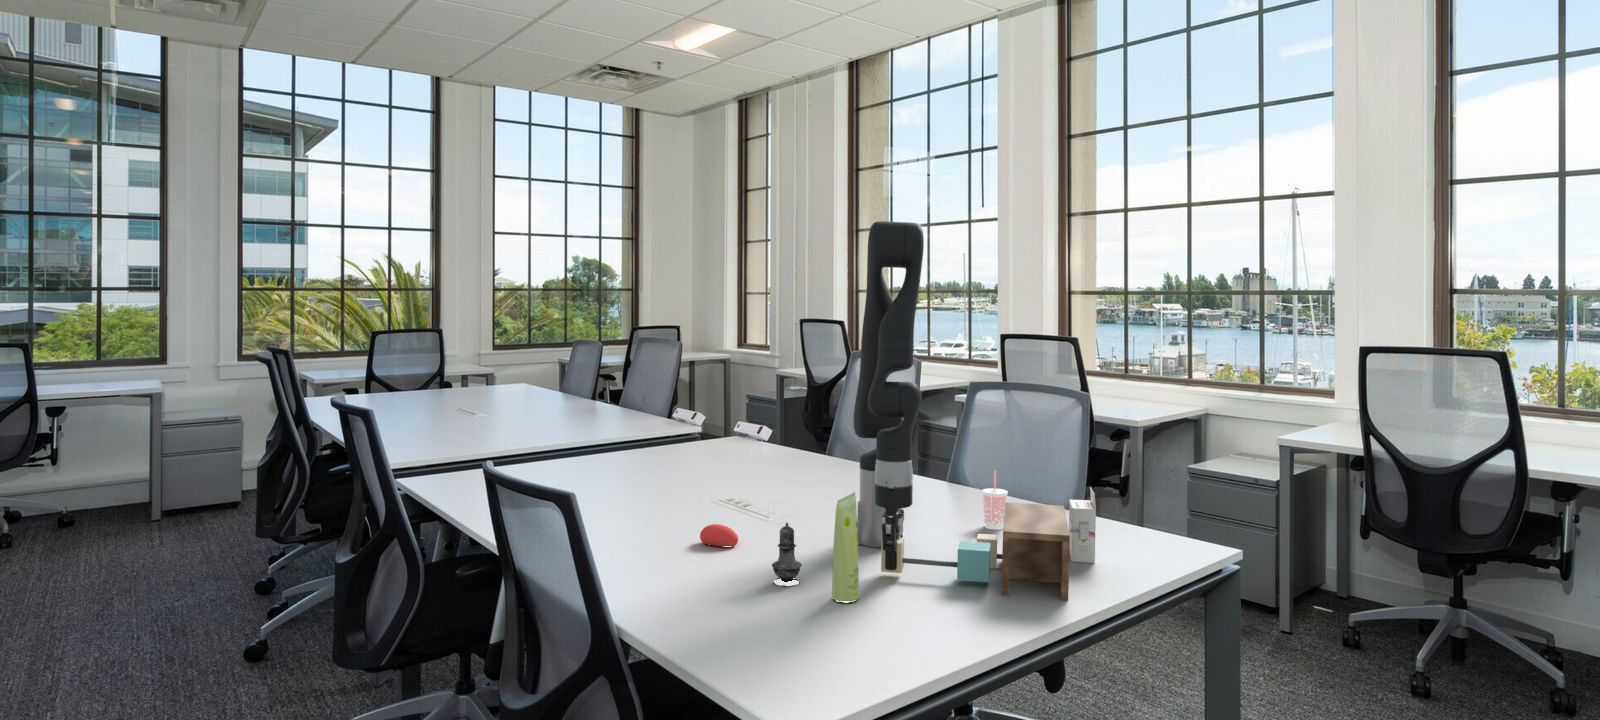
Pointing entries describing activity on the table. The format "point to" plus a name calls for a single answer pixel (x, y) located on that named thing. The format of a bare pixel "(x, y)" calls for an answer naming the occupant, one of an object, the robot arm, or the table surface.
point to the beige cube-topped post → (993, 549)
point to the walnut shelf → (1035, 545)
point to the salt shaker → (786, 556)
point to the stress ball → (718, 535)
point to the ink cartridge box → (1082, 529)
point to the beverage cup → (994, 506)
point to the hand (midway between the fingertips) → (892, 565)
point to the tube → (845, 551)
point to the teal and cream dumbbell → (969, 564)
